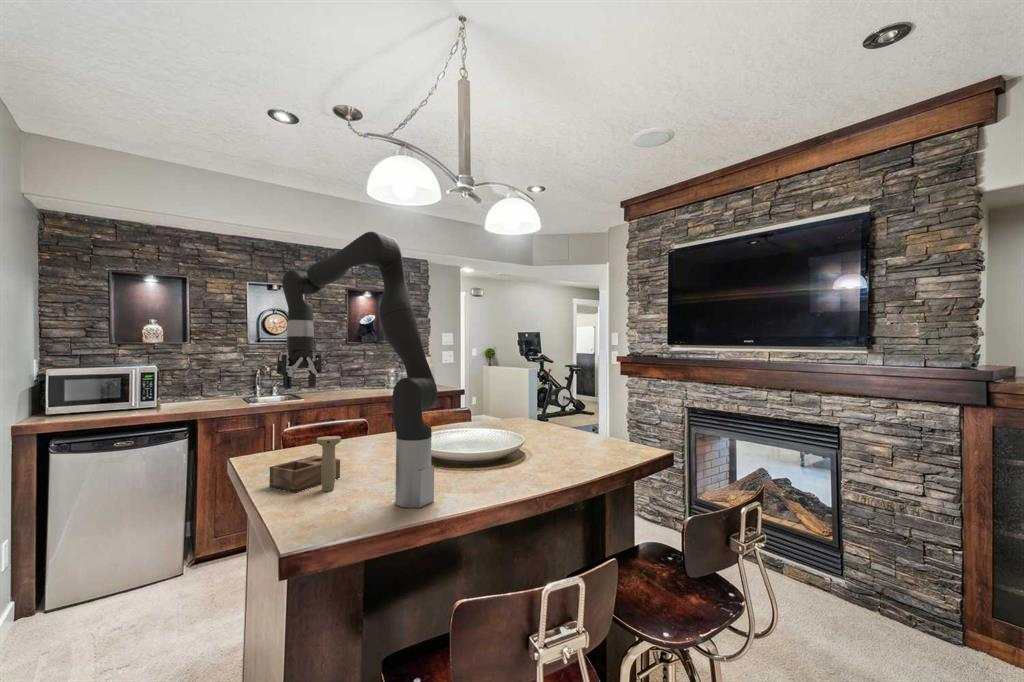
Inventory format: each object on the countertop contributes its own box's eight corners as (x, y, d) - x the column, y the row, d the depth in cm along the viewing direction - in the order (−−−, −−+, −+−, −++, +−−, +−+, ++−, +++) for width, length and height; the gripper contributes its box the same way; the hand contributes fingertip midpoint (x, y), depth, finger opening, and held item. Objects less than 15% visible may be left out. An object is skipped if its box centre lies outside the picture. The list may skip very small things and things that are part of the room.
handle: (339, 491, 128) (340, 438, 128) (315, 493, 126) (315, 440, 126) (340, 486, 132) (341, 435, 133) (316, 488, 130) (317, 436, 131)
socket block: (339, 478, 141) (340, 459, 141) (295, 493, 126) (295, 471, 127) (314, 474, 146) (315, 455, 146) (269, 487, 131) (269, 466, 131)
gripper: (288, 334, 131) (288, 390, 131) (327, 335, 144) (327, 386, 144) (271, 334, 134) (270, 389, 134) (311, 336, 147) (310, 386, 147)
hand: (300, 387), depth 139 cm, fingers open, 8 cm apart
